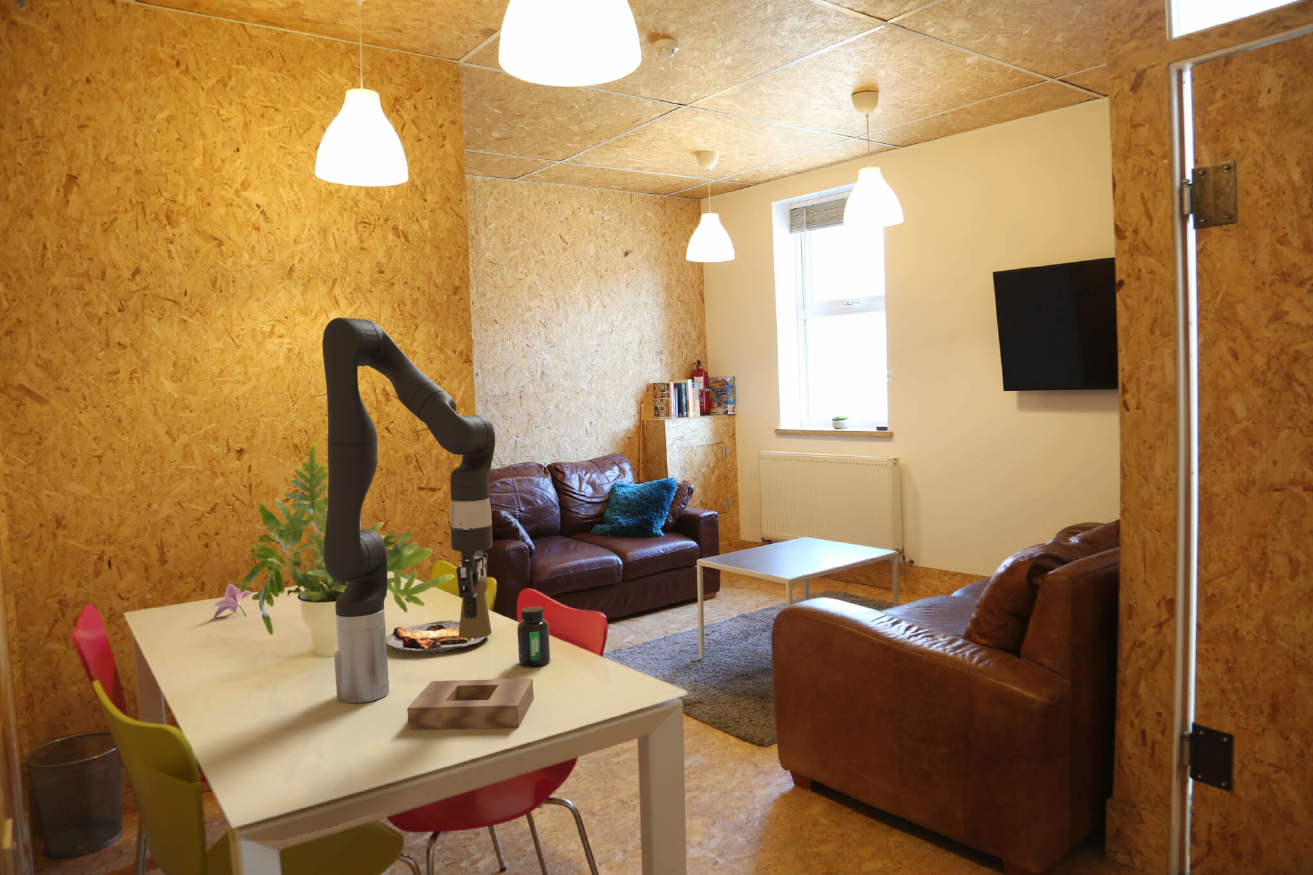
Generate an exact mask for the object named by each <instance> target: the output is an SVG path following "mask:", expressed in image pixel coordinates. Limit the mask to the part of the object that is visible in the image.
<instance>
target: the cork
mask: <svg viewBox="0 0 1313 875" xmlns="http://www.w3.org/2000/svg"><path fill="white" fill-rule="evenodd" d="M473 580H475V579H473ZM488 583H489V582H488V578H487V579H486V577H485V576H483V575H480V584H479V585H477V596H476V597H477V616H476V617H475V618H465V616H464V598H462V597H461V598H462V599H461V608H460V619H459V621H460V627H459V636H460V637H462V638H471V639H474V638H481V637H485V636H487V637H489V636H490V635H492V626H491V621H490V615H489V608H488V603H487V602H488V601H487V598H486V592H487V590H488V586H489V585H488ZM466 590H469V587H468V586H466ZM485 638H486V637H485Z"/></svg>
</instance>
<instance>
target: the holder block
mask: <svg viewBox="0 0 1313 875" xmlns="http://www.w3.org/2000/svg"><path fill="white" fill-rule="evenodd" d="M534 696H535V694H534V679H533V678H507V679H506V678H501V679H495V678H494V679H461V680H459V679H458V680H452V679H451V680H431V681H430V682H429V683H428V684H427V685H426V687H425V688H424V689H423V690H422V691H420V693H419V694H418V695H417V696H416V698H414V700H413V701H412V702H411V703H410V704H409V705H408V707H407V726H408V727H407V728H408V730H411V731H413V730H414V731H415V730H450V729H451V730H453V729H456V730H457V729H458V730H460V729H495V728H496V729H498V728H499V729H500V728H501V729H503V728H506V729H507V728H519V727H520V726H521V724H522V722H523V720H524V719H525V717H526V715H527V713H528V711H529V708H530V707H531V705H532V704H533V701H534V699H535V697H534Z"/></svg>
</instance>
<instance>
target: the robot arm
mask: <svg viewBox="0 0 1313 875" xmlns="http://www.w3.org/2000/svg"><path fill="white" fill-rule="evenodd" d="M323 331H324V332H323V334H322V341H321V342H322V345H321V347H322V359H323V366H324V367H323V368H324V376H325V386H326V404H327V406H326V407H327V468H328V469H327V471H328V472H327V473H328V474H327V509H326V510H327V511H326V521H325V523H326V524H325V531H324V539H323V540H324V541H323V563H324V567H325V570H326V572H327V574H328V575H329V577H331V579H332V580H335V581H336V582H338V583H339V582H340V583H346V582H347V583H346V586H345V588H344V590H343V591H342V592H341V594H339V596H338V597H337V598H336V599H335V604H334V607H335V620H336V636H337V651H335V653H334V655H333V656H334V658H333V659H334V672H335V673H334V674H335V688H336V689H335V690H336V691H335V692H336V701H343V702H345V703H349V704H350V703H352V704H357V703H358V704H359V703H360V704H361V703H368V702H373V701H375V700H380V699H381V698H383V697H386V696H387V695H388V694H389V693H390V680H389V666H388V664H389V662H388V647H387V644H386V638H387V632H386V631H387V630H386V628H387V627H386V616H385V615H386V614H385V599H386V596H387V593H388V553H387V548H386V543H385V541H384V539H383V538H382V537H381V535H380V534H379V533H378V532H377V531H375V530H373V529H366V528H364V529H361V515H362V514H361V513H362V509H363V506H364V502H365V499H366V496H367V494H368V492H369V490H370V487H371V486H372V482H373V480H374V477H375V475H376V472H377V466H378V433H377V429H376V427H375V424H374V421H373V420H372V418H371V417H372V416H370V414H369V412H368V410H367V408H366V406H365V404H364V402H363V399H362V397H361V394H360V389H359V379H358V378H359V376H358V375H359V373H358V371H359V369H358V368H359V367H370V368H371V369H374V370H375V371H377V372H378V373H379V374H381V375H383V376H384V377H386V378H387V380H388V381H389V382H390V383H391V385H392V387H393V390H394V391H395V394H396V396H397V398H398V400H399V401H400V402H401V404H402V405H403V406H404V407H405V409H407V410H409V411H410V413H411V414H413V415H414V416H415V417H416V418H417V419H419V420H420V421H421V422H422V423H423V424H425V425H426V427H427V428H428V430H429V432H430V433H431V434H432V436H433V438H434V439H435V441H437V443H438V445H440V446H441V448H443V449H444V450H445V451H446V452H448V453H451V454H453V455H455V456H457V455H458V456H462V459H461V463H460V465H459V466H458V467H456V468H454V469H453V470H452V471H451V473H450V478H449V480H450V481H449V483H450V484H449V485H450V509H449V522H450V523H449V524H450V547H451V549H452V551H454V552H460V553H461V558H460V560H459V564H458V566H457V567H456V569H455V571H456V578H457V586H458V588H457V589H458V596H459V598H464V616H465V618H475V617H476V616H477V597H476V596H477V585H479V584H480V575H483V576H485V577H486V579H487V580H488V557H489V556H488V553H487V552H483V551H485V550H489V549H491V548H492V547H493V521H492V508H491V501H490V481H489V480H490V479H489V476H490V471H491V468H492V463H493V458H494V453H495V447H496V434H495V433H496V432H495V429H494V426H493V424H492V422H491V421H490V420H489V419H488V418H487V417H486V416H484V415H479V414H476V415H475V414H474V415H463V416H462V415H460V414H458V413H457V412H456V411H457V403H456V401H455V399H454V398H453V397H452V396H451V395H450V394H449V392H446V391H445V389H443V388H442V387H440V386H439V385H438V384H437V383H435V382H434V381H433V380H432V379H431V378H430V377H428V376H427V375H426V374H425V373H424V372H422V371H421V370H420V369H419V367H417V366H416V365H415V363H413V362H412V361H411V359H410V358H409V357H408V356H407V355H406V354H405V353H404V352H403V350H402V349H401V348H400V347H399V346H398V345H397V343H396V342H395V341H394V340H393V339H392V338H391V336H390V335H389V334H388V333H387V331H385V330H384V329H383V328H382V327H381V326H380V325H379V324H378V323H376V322H375V321H373V320H369V319H363V318H351V317H350V318H349V317H336V318H333V319H332V320H330V321H329V322H328V323H327V325H326V326H325V327H324V330H323ZM473 579H475V580H473ZM466 586H468V587H469V590H466Z"/></svg>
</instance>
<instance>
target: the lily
mask: <svg viewBox="0 0 1313 875" xmlns="http://www.w3.org/2000/svg"><path fill="white" fill-rule="evenodd" d="M224 592H225V593H224V598H222V599H220V600H219V601H218V602H216V603H215V604H214V606H215V607H218V608H217V610H216V611H215V612H214V615H213V619H216V618H217V617H218V616H219V615H221V614H222V613H223V612H225V611H227V610H229V611H230V612H232V613H236V612H237V610H238V608H239V609H240V610H241V611H242V614H244V616H245V617H246V618H247V614H246V613H245V611H244V609H243V608H242V606H241V604H240V603H241V601H242V600H243V599H245V598H247V597H248V596H250V595H252V594H253V591H250V590H245V591H244V592H241V590H240V588H238V587H237V586H236V585H234V584H233V583H229V584H228V585H227V587H226V589H225V591H224Z"/></svg>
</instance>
